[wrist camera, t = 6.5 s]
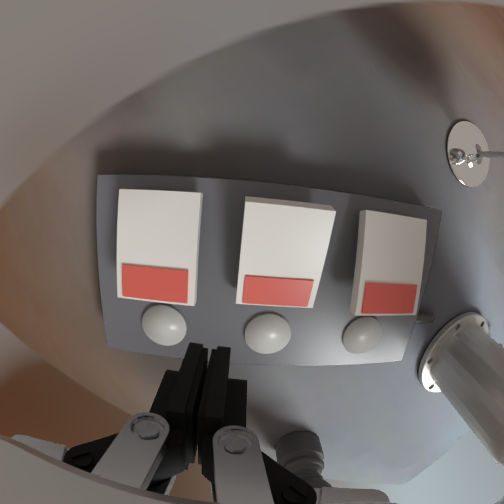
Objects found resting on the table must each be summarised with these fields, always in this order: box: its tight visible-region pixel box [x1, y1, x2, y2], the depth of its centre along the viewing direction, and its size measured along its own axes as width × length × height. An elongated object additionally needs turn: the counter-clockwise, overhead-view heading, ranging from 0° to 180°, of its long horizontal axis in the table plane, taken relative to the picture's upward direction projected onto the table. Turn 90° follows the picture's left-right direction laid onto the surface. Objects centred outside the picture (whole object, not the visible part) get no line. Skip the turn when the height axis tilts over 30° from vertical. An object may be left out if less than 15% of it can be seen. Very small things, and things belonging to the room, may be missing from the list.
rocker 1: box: [117, 189, 203, 306], centre depth 20 cm, size 6×8×1 cm
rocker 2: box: [236, 196, 336, 308], centre depth 21 cm, size 6×8×1 cm
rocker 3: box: [349, 210, 427, 316], centre depth 21 cm, size 6×8×1 cm
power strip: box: [96, 174, 442, 366], centre depth 25 cm, size 35×16×3 cm, turn 85°
